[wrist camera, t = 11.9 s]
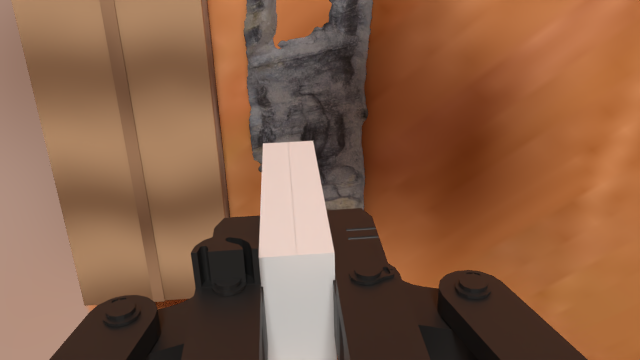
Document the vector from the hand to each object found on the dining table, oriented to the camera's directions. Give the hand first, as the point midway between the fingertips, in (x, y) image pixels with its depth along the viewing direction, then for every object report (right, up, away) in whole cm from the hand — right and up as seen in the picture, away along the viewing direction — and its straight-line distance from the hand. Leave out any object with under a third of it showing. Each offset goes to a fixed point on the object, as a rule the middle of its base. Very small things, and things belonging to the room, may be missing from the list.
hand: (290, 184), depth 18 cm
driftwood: (+1, +6, +13) cm, 14 cm away
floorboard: (-8, +5, +11) cm, 15 cm away
